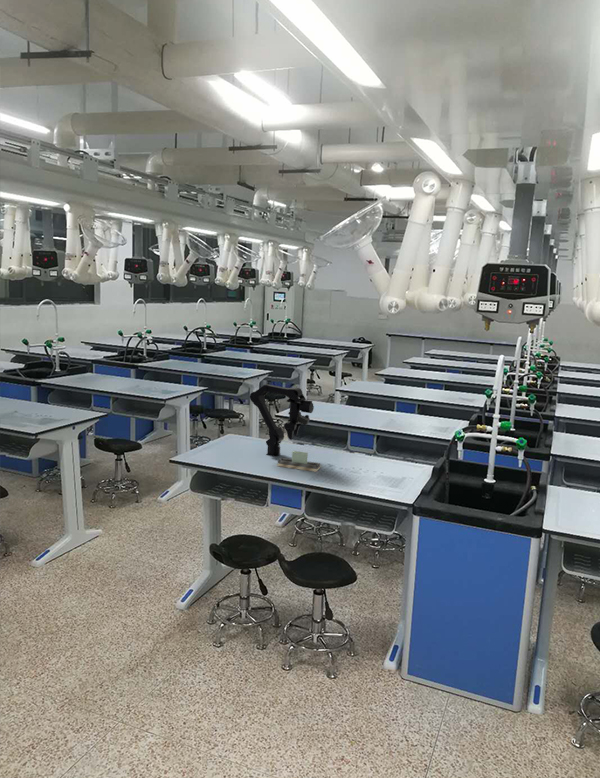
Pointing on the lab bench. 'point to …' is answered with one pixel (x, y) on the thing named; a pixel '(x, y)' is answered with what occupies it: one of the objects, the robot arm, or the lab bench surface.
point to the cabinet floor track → (299, 465)
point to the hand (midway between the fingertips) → (293, 437)
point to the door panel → (299, 457)
